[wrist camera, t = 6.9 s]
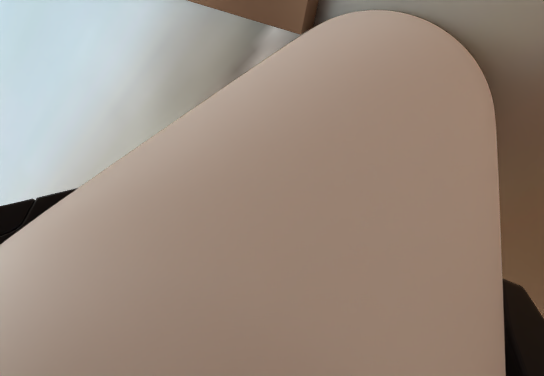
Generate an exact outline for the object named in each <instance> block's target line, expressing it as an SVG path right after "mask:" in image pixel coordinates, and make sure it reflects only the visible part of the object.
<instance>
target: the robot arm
mask: <svg viewBox="0 0 544 376" xmlns="http://www.w3.org/2000/svg"><path fill="white" fill-rule="evenodd" d="M76 189H78V188H76ZM76 189H72V190H68V191H63V192H59V193H55V194H51V195H46V196H42V197H38V198H37V199H36V200H34V199H29V200H25V201H21V202H17V203H13V204H8V205H3V206H0V244H2V243H3V242H4V241H6V240H7V239H8V238H10V237H11V236H12V235H14V234H15V233H17V232H18V231H19V230H21V229H22V228H23V227H25V226H26V225H27V224H29V223H30V222H31V221H33V220H34V219H36V218H37V217H38V216H40V215H41V214H42V213H44V212H45V211H46V210H48V209H49V208H51V207H52V206H54V205H55V204H56V203H58V202H59V201H61V200H62V199H64V198H65V197H66V196H68V195H69V194H71V193H72V192H74V191H75V190H76ZM502 281H503V310H504V340H505V371H506V376H544V318H543V317H542V315H541V314H540V312H539V311H538V309H537V308H536V306H535V305H534V303H533V301H532V300H531V298H530V297H529V295H528V294H527V292H526V291H525V289H524V288H523V287H522V286H520V285H517V284H515V283H512V282H510V281H507V280H505V279H502Z"/></svg>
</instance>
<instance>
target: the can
mask: <svg viewBox="0 0 544 376" xmlns="http://www.w3.org/2000/svg"><path fill="white" fill-rule="evenodd" d="M0 376H506V371H505V340H504V310H503V281H502V253H501V226H500V201H499V176H498V154H497V135H496V120H495V111H494V104H493V99H492V95H491V92H490V89H489V86H488V83H487V81H486V79H485V76H484V74H483V72H482V70H481V69H480V67H479V65H478V64H477V62H476V61H475V59H474V58H473V57H472V55H471V54H470V53H469V52H468V51H467V49H466V48H465V47H464V46H463V45H462V44H461V43H460V42H458V41H457V40H456V39H455V38H454V37H453V36H451V35H450V34H449V33H447V32H446V31H444V30H443V29H441V28H440V27H438V26H436V25H434V24H432V23H430V22H428V21H426V20H424V19H421V18H419V17H416V16H413V15H409V14H406V13H401V12H395V11H388V10H366V11H358V12H352V13H348V14H344V15H341V16H338V17H335V18H332V19H330V20H327V21H325V22H323V23H321V24H319V25H317V26H316V27H314V28H312V29H311V30H309V31H307V32H306V33H304V34H303V35H301V36H300V37H298V38H296V39H295V40H293V41H292V42H290V43H289V44H287V45H286V46H284V47H283V48H281V49H280V50H278V51H277V52H275V53H274V54H272V55H271V56H270V57H268V58H267V59H265V60H264V61H262V62H261V63H259V64H258V65H256V66H255V67H253V68H252V69H250V70H249V71H247V72H246V73H244V74H243V75H242V76H240V77H239V78H237V79H236V80H234V81H233V82H231V83H230V84H228V85H227V86H225V87H224V88H222V89H221V90H220V91H218V92H217V93H215V94H214V95H212V96H211V97H209V98H208V99H206V100H205V101H204V102H202V103H201V104H199V105H198V106H196V107H195V108H193V109H192V110H190V111H189V112H187V113H186V114H185V115H183V116H182V117H180V118H179V119H177V120H176V121H174V122H173V123H171V124H170V125H169V126H167V127H166V128H164V129H163V130H161V131H160V132H158V133H157V134H156V135H154V136H153V137H151V138H150V139H148V140H147V141H145V142H144V143H142V144H141V145H140V146H138V147H137V148H135V149H134V150H132V151H131V152H129V153H128V154H127V155H125V156H124V157H122V158H121V159H119V160H118V161H116V162H115V163H114V164H112V165H111V166H109V167H108V168H106V169H105V170H103V171H102V172H101V173H99V174H98V175H96V176H95V177H93V178H92V179H91V180H89V181H88V182H86V183H85V184H83V185H82V186H81V187H79V188H78V189H76V190H75V191H74V192H72V193H71V194H69V195H68V196H66V197H65V198H64V199H62V200H61V201H59V202H58V203H56V204H55V205H54V206H52V207H51V208H49V209H48V210H46V211H45V212H44V213H42V214H41V215H40V216H38V217H37V218H36V219H34V220H33V221H31V222H30V223H29V224H27V225H26V226H25V227H23V228H22V229H21V230H19V231H18V232H17V233H15V234H14V235H12V236H11V237H10V238H8V239H7V240H6V241H4V242H3V243H2V244H0Z"/></svg>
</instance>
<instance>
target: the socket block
mask: <svg viewBox="0 0 544 376" xmlns="http://www.w3.org/2000/svg"><path fill="white" fill-rule="evenodd" d="M188 1H191V2H194V3H198V4H201V5H204V6H208V7H211V8H214V9H218V10H221V11H224V12H228V13H231V14H234V15H238V16H241V17H244V18H247V19H251V20H254V21H257V22H261V23H264V24H267V25H271V26H274V27H277V28H281V29H284V30H287V31H291V32H294V33H297V34H302V33H304V32H306V31H307V30H309V29H310V28H312V27H313V25H314V21H315V16H316V11H317V7H318V2H319V0H188Z"/></svg>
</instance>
